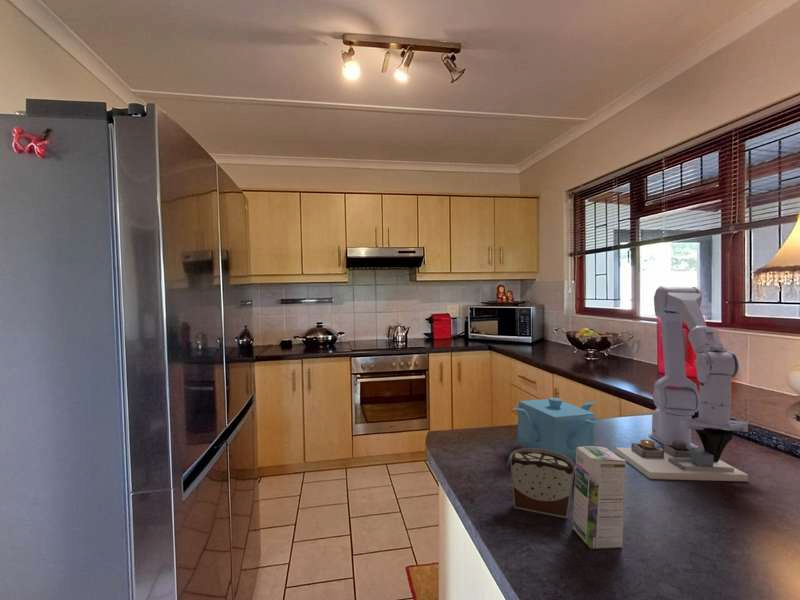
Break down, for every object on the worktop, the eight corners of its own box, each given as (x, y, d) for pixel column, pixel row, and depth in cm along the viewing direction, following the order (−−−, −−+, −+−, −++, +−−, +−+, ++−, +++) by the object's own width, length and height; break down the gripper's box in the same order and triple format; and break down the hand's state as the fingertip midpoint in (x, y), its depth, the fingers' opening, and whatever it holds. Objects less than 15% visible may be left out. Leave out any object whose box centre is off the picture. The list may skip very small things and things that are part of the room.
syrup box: (571, 528, 68) (573, 445, 68) (603, 527, 68) (606, 445, 68) (589, 549, 62) (592, 460, 62) (624, 548, 63) (627, 459, 62)
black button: (669, 446, 99) (669, 440, 99) (680, 446, 99) (681, 440, 99) (677, 451, 96) (677, 444, 96) (689, 451, 96) (689, 445, 96)
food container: (573, 503, 76) (574, 452, 76) (576, 520, 70) (578, 465, 70) (507, 491, 80) (509, 443, 80) (505, 506, 74) (507, 454, 74)
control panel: (615, 453, 101) (615, 441, 101) (699, 455, 101) (700, 443, 101) (649, 478, 87) (650, 465, 87) (747, 481, 87) (748, 467, 87)
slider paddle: (691, 461, 93) (691, 448, 93) (701, 461, 93) (701, 449, 93) (702, 468, 89) (703, 455, 89) (713, 468, 89) (713, 455, 89)
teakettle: (522, 438, 110) (523, 386, 110) (596, 451, 102) (597, 395, 102) (509, 463, 94) (511, 402, 93) (596, 482, 85) (598, 415, 85)
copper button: (637, 445, 99) (638, 439, 99) (649, 445, 99) (649, 439, 99) (645, 450, 96) (645, 443, 96) (657, 450, 96) (657, 444, 96)
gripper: (696, 407, 87) (694, 467, 87) (761, 408, 87) (758, 468, 87) (674, 398, 94) (672, 454, 94) (734, 399, 94) (731, 455, 94)
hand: (712, 460), depth 91 cm, fingers closed
